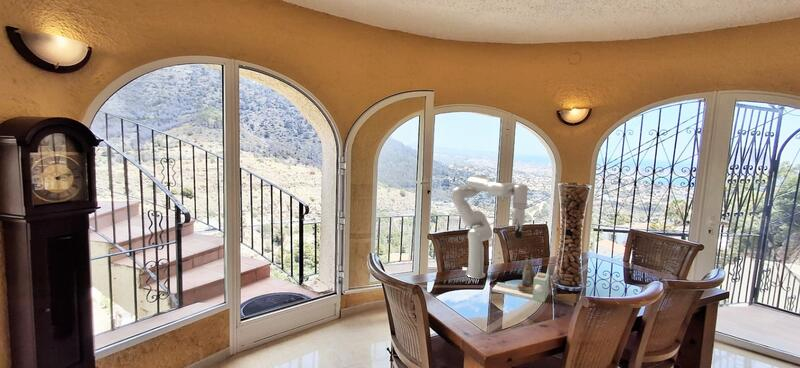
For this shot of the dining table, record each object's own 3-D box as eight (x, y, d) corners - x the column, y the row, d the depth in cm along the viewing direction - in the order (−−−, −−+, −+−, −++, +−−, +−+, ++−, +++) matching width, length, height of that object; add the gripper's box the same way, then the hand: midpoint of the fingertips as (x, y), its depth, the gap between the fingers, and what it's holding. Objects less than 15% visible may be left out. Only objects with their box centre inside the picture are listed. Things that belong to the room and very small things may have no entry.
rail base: (492, 291, 219) (492, 285, 218) (498, 284, 229) (498, 279, 229) (532, 299, 207) (532, 293, 207) (536, 292, 218) (537, 286, 217)
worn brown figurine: (527, 290, 227) (524, 263, 223) (520, 287, 232) (517, 260, 228) (540, 283, 233) (538, 256, 229) (533, 280, 238) (530, 253, 234)
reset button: (538, 281, 209) (538, 275, 209) (539, 279, 212) (539, 274, 212) (543, 282, 208) (543, 276, 208) (544, 280, 210) (544, 275, 210)
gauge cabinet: (532, 299, 207) (533, 278, 206) (536, 292, 218) (538, 272, 216) (544, 302, 204) (545, 280, 203) (548, 294, 215) (549, 274, 213)
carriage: (517, 291, 214) (518, 273, 213) (519, 287, 219) (520, 270, 218) (531, 294, 210) (532, 276, 209) (534, 290, 215) (535, 273, 214)
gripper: (516, 203, 225) (514, 234, 227) (509, 207, 212) (508, 239, 214) (529, 204, 221) (527, 235, 223) (523, 208, 208) (521, 241, 210)
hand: (518, 237), depth 218 cm, fingers closed
